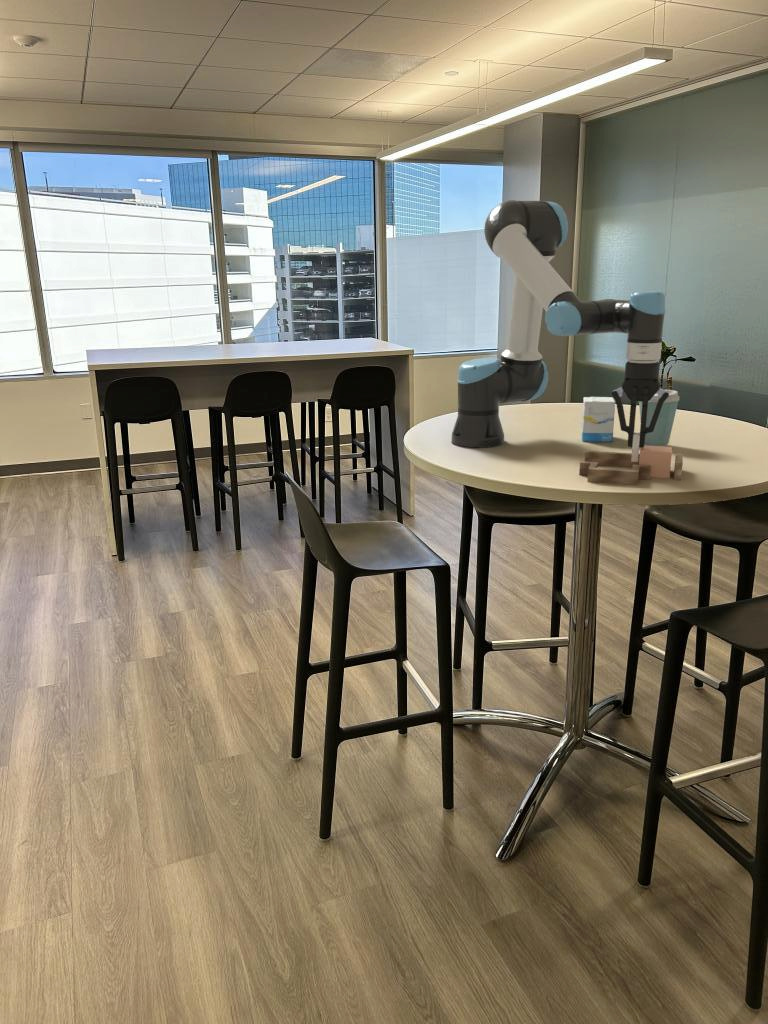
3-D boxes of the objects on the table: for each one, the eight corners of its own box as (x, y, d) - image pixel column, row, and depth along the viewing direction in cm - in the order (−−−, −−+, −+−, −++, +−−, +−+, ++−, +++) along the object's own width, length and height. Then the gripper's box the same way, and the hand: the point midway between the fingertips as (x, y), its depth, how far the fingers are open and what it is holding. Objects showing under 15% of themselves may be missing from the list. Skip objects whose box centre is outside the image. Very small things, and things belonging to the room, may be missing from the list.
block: (637, 476, 177) (639, 451, 175) (639, 469, 183) (641, 445, 182) (669, 478, 175) (671, 453, 173) (669, 471, 181) (672, 447, 179)
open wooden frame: (576, 480, 174) (577, 464, 173) (585, 462, 191) (586, 446, 190) (681, 488, 167) (682, 470, 165) (680, 468, 183) (682, 452, 182)
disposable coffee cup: (649, 451, 201) (654, 395, 196) (626, 443, 211) (630, 389, 206) (683, 447, 204) (688, 392, 199) (658, 440, 213) (663, 387, 209)
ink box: (612, 442, 212) (615, 401, 209) (582, 441, 214) (584, 401, 210) (610, 436, 220) (613, 396, 217) (580, 435, 222) (582, 396, 218)
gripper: (612, 362, 172) (605, 462, 179) (672, 363, 167) (663, 465, 175) (614, 358, 178) (607, 455, 186) (672, 359, 174) (663, 458, 181)
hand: (634, 460), depth 180 cm, fingers closed
